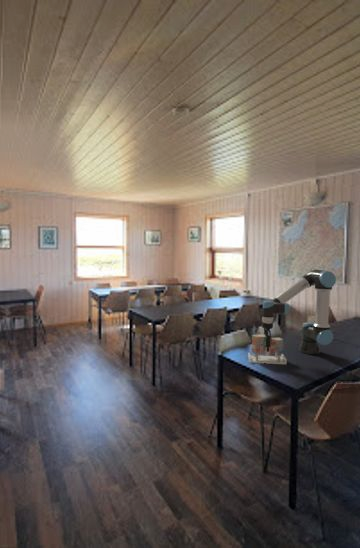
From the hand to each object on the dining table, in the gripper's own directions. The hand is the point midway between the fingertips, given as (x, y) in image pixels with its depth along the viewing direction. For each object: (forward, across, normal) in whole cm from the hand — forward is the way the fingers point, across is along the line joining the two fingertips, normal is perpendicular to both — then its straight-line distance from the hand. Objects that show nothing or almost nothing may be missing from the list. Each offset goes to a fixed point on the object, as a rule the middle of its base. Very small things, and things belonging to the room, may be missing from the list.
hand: (266, 353), depth 231 cm
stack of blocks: (-1, 0, +1) cm, 1 cm away
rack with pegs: (+5, 0, 0) cm, 5 cm away
